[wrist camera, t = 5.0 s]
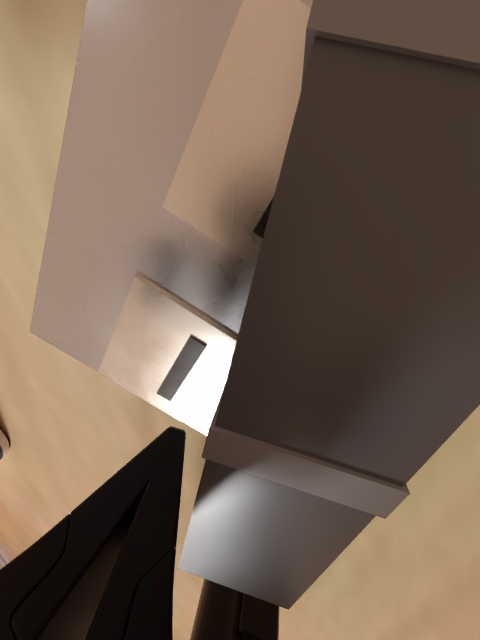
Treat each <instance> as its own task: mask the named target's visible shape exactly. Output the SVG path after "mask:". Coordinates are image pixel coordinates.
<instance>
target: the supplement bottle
mask: <svg viewBox="0 0 480 640" xmlns="http://www.w3.org/2000/svg"><path fill="white" fill-rule="evenodd" d="M8 450H9V443H8V440H7V438H6V436H5V434H4V433H3V432H2V430H1V429H0V460H1V459H2V458H3V457H4V456H5V455H6V454H7V452H8Z"/></svg>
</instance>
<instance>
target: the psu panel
mask: <svg viewBox="0 0 480 640" xmlns="http://www.w3.org/2000/svg"><path fill="white" fill-rule="evenodd" d="M312 3H313V0H87V4H86V9H85V15H84V21H83V27H82V33H81V38H80V44H79V50H78V56H77V61H76V67H75V73H74V79H73V84H72V90H71V96H70V102H69V107H68V113H67V119H66V125H65V130H64V136H63V142H62V148H61V153H60V159H59V165H58V171H57V177H56V182H55V188H54V194H53V200H52V205H51V211H50V217H49V223H48V228H47V234H46V240H45V246H44V251H43V257H42V263H41V269H40V274H39V280H38V286H37V292H36V297H35V303H34V309H33V315H32V320H31V326H30V332H31V333H32V334H34V335H36V336H38V337H39V338H41V339H43V340H44V341H46V342H48V343H50V344H51V345H53V346H55V347H56V348H58V349H60V350H61V351H63V352H65V353H67V354H68V355H70V356H72V357H73V358H75V359H77V360H79V361H80V362H82V363H84V364H85V365H87V366H89V367H91V368H92V369H94V370H96V371H97V372H98V373H99V374H101V375H103V376H104V377H106V378H108V379H109V380H111V381H113V382H115V383H116V384H118V385H120V386H121V387H123V388H125V389H127V390H128V391H130V392H132V393H133V394H135V395H137V396H138V397H140V398H142V399H144V400H145V401H147V402H149V403H150V404H152V405H154V406H156V407H157V408H159V409H161V410H162V411H164V412H166V413H168V414H169V415H171V416H173V417H174V418H176V419H178V420H180V421H181V422H182V421H183V422H184V423H186V424H188V425H190V426H191V427H193V428H195V429H196V430H198V431H200V432H202V433H203V434H205V435H207V434H208V430H209V426H210V424H211V421H212V418H213V416H214V413H215V410H216V407H217V405H218V402H219V399H220V396H221V394H222V391H223V388H224V386H225V383H226V380H227V376H228V372H229V369H230V365H231V361H232V357H233V353H234V349H235V345H236V341H237V338H238V334H239V330H240V326H241V322H242V318H243V314H244V310H245V307H246V303H247V299H248V295H249V291H250V287H251V283H252V279H253V276H254V272H255V268H256V264H257V260H258V256H259V252H260V248H261V245H262V241H263V237H264V233H265V229H266V225H267V221H268V217H269V214H270V210H271V206H272V202H273V198H274V194H275V190H276V186H277V183H278V179H279V175H280V171H281V167H282V163H283V159H284V156H285V152H286V148H287V144H288V140H289V136H290V132H291V128H292V125H293V121H294V117H295V113H296V109H297V105H298V101H299V97H300V94H301V86H302V74H303V62H304V50H305V38H306V27H307V23H308V19H309V15H310V11H311V7H312Z"/></svg>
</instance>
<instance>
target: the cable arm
mask: <svg viewBox="0 0 480 640" xmlns="http://www.w3.org/2000/svg"><path fill="white" fill-rule="evenodd" d="M479 405H480V0H313V3H312V7H311V11H310V15H309V19H308V23H307V27H306V38H305V50H304V62H303V74H302V86H301V94H300V97H299V101H298V105H297V109H296V113H295V117H294V121H293V125H292V128H291V132H290V136H289V140H288V144H287V148H286V152H285V156H284V159H283V163H282V167H281V171H280V175H279V179H278V183H277V186H276V190H275V194H274V198H273V202H272V206H271V210H270V214H269V217H268V221H267V225H266V229H265V233H264V237H263V241H262V245H261V248H260V252H259V256H258V260H257V264H256V268H255V272H254V276H253V279H252V283H251V287H250V291H249V295H248V299H247V303H246V307H245V310H244V314H243V318H242V322H241V326H240V330H239V334H238V338H237V341H236V345H235V349H234V353H233V357H232V361H231V365H230V369H229V372H228V376H227V380H226V383H225V386H224V388H223V391H222V394H221V396H220V399H219V402H218V405H217V407H216V410H215V413H214V416H213V418H212V421H211V424H210V426H209V430H208V434H207V438H206V442H205V446H204V450H203V454H202V458H205V459H206V461H205V465H204V469H203V473H202V477H201V481H200V485H199V489H198V492H197V496H196V500H195V504H194V508H193V512H192V516H191V520H190V523H189V527H188V531H187V535H186V539H185V543H184V547H183V551H182V554H181V558H180V562H179V566H178V569H180V570H183V571H185V572H188V573H191V574H193V575H196V576H199V577H202V578H204V579H207V580H210V581H212V582H215V583H218V584H221V585H223V586H226V587H229V588H231V589H234V590H237V591H240V592H242V593H245V594H248V595H251V596H253V597H256V598H259V599H261V600H264V601H267V602H270V603H272V604H275V605H278V606H280V607H283V608H286V609H289V608H290V607H291V606H292V605H293V604H294V603H295V602H296V601H297V600H298V599H299V598H300V597H301V596H302V594H303V593H304V592H305V591H306V590H307V589H308V588H309V587H310V586H311V585H312V584H313V583H314V582H315V581H316V579H317V578H318V577H319V576H320V575H321V574H322V573H323V572H324V571H325V570H326V569H327V568H328V567H329V565H330V564H331V563H332V562H333V561H334V560H335V559H336V558H337V557H338V556H339V555H340V554H341V553H342V552H343V550H344V549H345V548H346V547H347V546H348V545H349V544H350V543H351V542H352V541H353V540H354V539H355V538H356V537H357V535H358V534H359V533H360V532H361V531H362V530H363V529H364V528H365V527H366V526H367V525H368V524H369V523H370V522H371V520H372V519H373V518H374V517H375V516H379V517H382V518H385V519H386V518H387V517H388V516H389V514H390V513H391V512H392V511H393V510H394V509H395V508H396V507H397V506H398V505H399V504H400V503H401V502H402V501H403V500H404V499H405V498H406V497H407V496H408V495H409V494H410V493H409V490H408V488H407V485H406V483H407V482H408V481H409V480H410V479H411V478H412V476H413V475H414V474H415V473H416V472H417V471H418V470H419V469H420V468H421V467H422V466H423V465H424V464H425V463H426V461H427V460H428V459H429V458H430V457H431V456H432V455H433V454H434V453H435V452H436V451H437V450H438V449H439V448H440V446H441V445H442V444H443V443H444V442H445V441H446V440H447V439H448V438H449V437H450V436H451V435H452V434H453V433H454V431H455V430H456V429H457V428H458V427H459V426H460V425H461V424H462V423H463V422H464V421H465V420H466V419H467V418H468V416H469V415H470V414H471V413H472V412H473V411H474V410H475V409H476V408H477V407H478V406H479Z"/></svg>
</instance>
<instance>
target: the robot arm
mask: <svg viewBox="0 0 480 640" xmlns="http://www.w3.org/2000/svg"><path fill="white" fill-rule="evenodd" d="M185 440H186V431H185V430H183V429H179V428H176V427H172V426H171V427H169V428H167V429H166V430H165V431H164V432H163V433H162V434H160V435H159V436H158V437H157V438H156V439H155V440H154V441H152V442H151V443H150V444H149V445H148V446H147V447H146V448H144V449H143V450H142V451H141V452H140V453H139V454H137V455H136V456H135V457H134V458H133V459H132V460H131V461H129V462H128V463H127V464H126V465H125V466H124V467H122V468H121V469H120V470H119V471H118V472H117V473H116V474H114V475H113V476H112V477H111V478H110V479H109V480H107V481H106V482H105V483H104V484H103V485H102V486H101V487H99V488H98V489H97V490H96V491H95V492H94V493H92V494H91V495H90V496H89V497H88V498H87V499H86V500H84V501H83V502H82V503H81V504H80V505H79V506H78V507H76V508H75V509H74V510H73V511H72V512H71V515H70V514H68V515H67V516H66V517H65V518H64V519H62V520H61V521H60V522H59V523H58V524H57V525H55V526H54V527H53V528H52V529H51V530H50V531H48V532H47V533H46V534H45V535H44V536H42V537H41V538H40V539H39V540H38V541H36V542H35V543H34V544H33V545H32V546H30V547H29V548H28V549H26V550H25V551H24V552H23V553H21V554H20V555H19V556H17V557H16V558H15V559H13V560H12V561H11V562H10V563H8V564H7V565H6V566H4V567H3V568H2V569H0V640H172V614H173V582H174V566H175V555H176V542H177V531H178V519H179V508H180V496H181V485H182V474H183V462H184V451H185ZM278 636H279V606H278V605H275V604H272V603H270V602H267V601H264V600H261V599H259V598H256V597H253V596H251V595H248V594H245V593H242V592H240V591H237V590H234V589H231V588H229V587H226V586H223V585H221V584H218V583H215V582H212V581H210V580H207V579H204V582H203V587H202V591H201V595H200V599H199V604H198V608H197V612H196V617H195V621H194V625H193V630H192V634H191V638H190V640H278Z"/></svg>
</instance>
